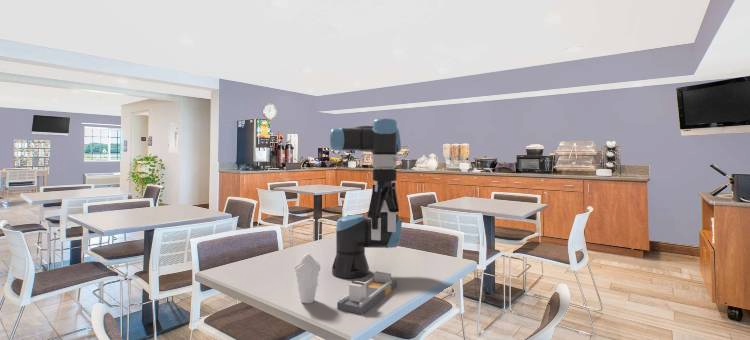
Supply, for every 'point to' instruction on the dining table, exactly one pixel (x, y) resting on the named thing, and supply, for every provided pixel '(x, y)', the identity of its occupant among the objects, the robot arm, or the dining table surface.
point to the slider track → (369, 293)
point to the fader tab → (357, 291)
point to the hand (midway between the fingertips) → (384, 235)
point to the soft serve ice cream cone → (307, 278)
